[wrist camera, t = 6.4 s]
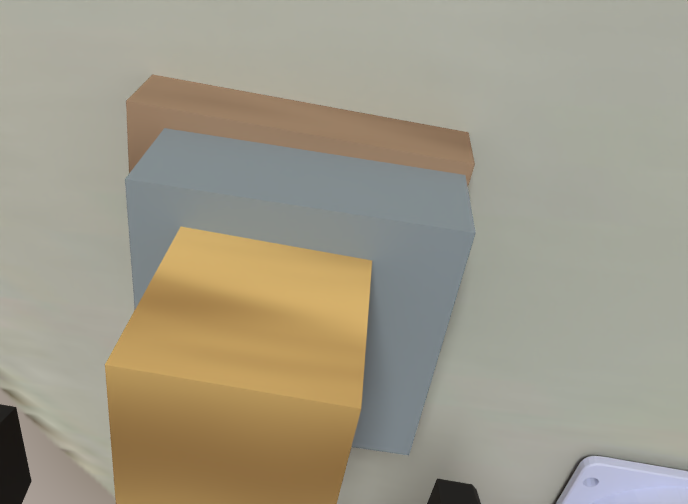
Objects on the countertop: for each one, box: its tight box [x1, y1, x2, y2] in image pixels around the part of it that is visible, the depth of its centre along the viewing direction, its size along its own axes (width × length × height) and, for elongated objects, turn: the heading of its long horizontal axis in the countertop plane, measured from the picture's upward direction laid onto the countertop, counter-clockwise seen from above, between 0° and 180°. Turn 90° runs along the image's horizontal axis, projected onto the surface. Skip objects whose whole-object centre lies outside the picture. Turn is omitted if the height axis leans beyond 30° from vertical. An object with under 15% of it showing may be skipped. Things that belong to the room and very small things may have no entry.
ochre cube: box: [105, 227, 372, 504], centre depth 13 cm, size 4×4×4 cm
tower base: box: [126, 75, 475, 308], centre depth 18 cm, size 8×8×2 cm
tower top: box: [125, 128, 475, 455], centre depth 16 cm, size 7×7×2 cm
